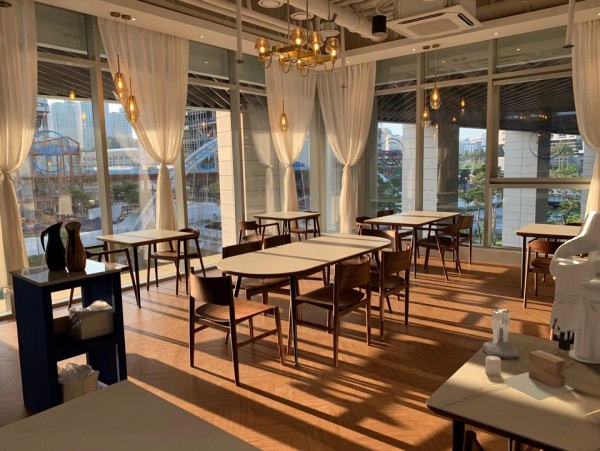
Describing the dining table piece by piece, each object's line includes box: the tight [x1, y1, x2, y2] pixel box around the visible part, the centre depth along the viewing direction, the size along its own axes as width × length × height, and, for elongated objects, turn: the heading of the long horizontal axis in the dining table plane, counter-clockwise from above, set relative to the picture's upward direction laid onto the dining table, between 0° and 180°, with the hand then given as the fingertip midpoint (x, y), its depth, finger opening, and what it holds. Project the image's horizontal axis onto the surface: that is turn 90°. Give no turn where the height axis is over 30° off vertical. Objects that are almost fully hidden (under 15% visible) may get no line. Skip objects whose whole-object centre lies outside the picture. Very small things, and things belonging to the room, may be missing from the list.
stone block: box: [482, 340, 519, 359], centre depth 188 cm, size 12×5×10 cm
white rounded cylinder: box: [484, 355, 502, 377], centre depth 169 cm, size 5×5×6 cm
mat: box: [497, 371, 574, 401], centre depth 160 cm, size 17×16×1 cm
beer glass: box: [491, 308, 511, 343], centre depth 196 cm, size 7×7×15 cm
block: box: [528, 349, 567, 389], centre depth 162 cm, size 5×10×9 cm, turn 26°
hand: (564, 349), depth 165 cm, fingers closed
